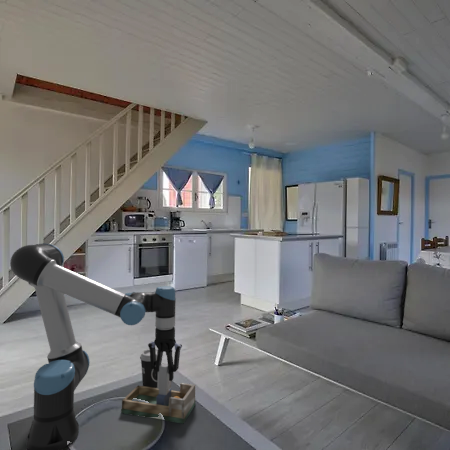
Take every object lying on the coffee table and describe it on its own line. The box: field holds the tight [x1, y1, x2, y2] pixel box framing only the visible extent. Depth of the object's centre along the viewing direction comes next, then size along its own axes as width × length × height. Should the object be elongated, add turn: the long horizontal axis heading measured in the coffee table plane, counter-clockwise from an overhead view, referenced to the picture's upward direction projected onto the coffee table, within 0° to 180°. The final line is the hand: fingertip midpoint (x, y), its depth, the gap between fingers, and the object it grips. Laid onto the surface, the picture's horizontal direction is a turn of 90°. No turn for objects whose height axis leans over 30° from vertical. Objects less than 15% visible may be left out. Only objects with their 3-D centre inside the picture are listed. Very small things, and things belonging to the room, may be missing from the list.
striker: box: [156, 362, 172, 406], centre depth 122 cm, size 3×7×15 cm, turn 167°
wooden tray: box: [120, 382, 196, 425], centre depth 123 cm, size 25×13×8 cm, turn 76°
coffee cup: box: [139, 348, 158, 388], centre depth 140 cm, size 10×10×15 cm
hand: (164, 387), depth 122 cm, fingers closed on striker, 3 cm apart
